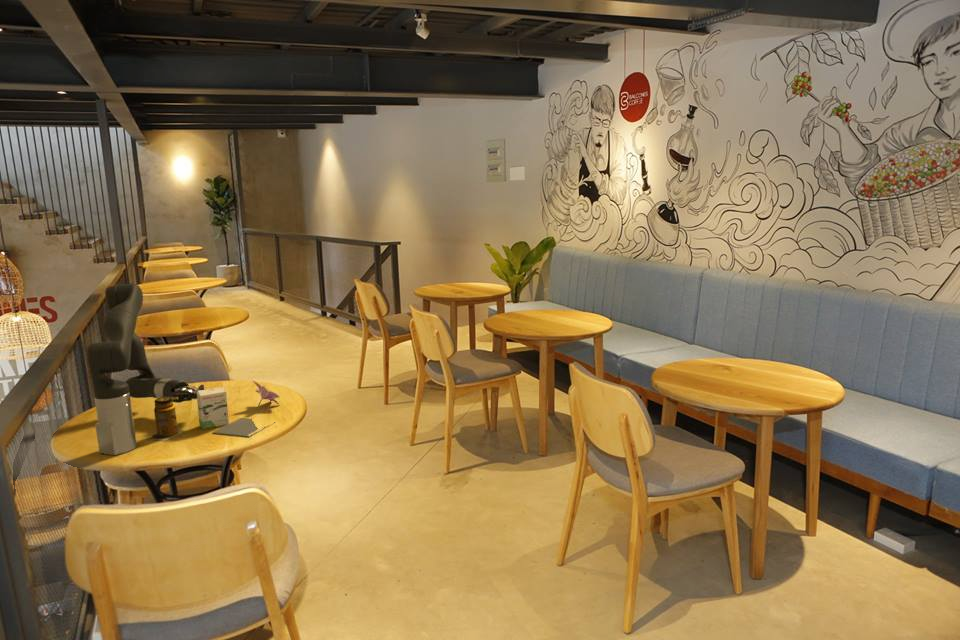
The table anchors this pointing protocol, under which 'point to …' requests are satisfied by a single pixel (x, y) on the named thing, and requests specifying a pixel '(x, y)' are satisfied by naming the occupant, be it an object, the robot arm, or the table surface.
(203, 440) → the table surface
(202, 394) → the ink box
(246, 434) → the mat
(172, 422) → the condiment
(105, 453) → the robot arm
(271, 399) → the lily
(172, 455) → the table surface
